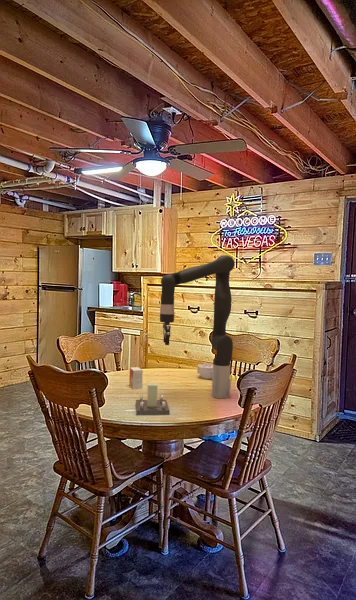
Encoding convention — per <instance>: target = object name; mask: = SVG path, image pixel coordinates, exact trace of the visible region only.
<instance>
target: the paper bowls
mask: <svg viewBox="0 0 356 600" xmlns="http://www.w3.org/2000/svg"><path fill="white" fill-rule="evenodd" d="M196 370H197V371H196V372H197V374H199V376H200V377H201V378H203V379H204V380H205V379H206V380H212V379H213V363H199V364H198V365H197V369H196Z"/></svg>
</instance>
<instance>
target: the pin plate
mask: <svg viewBox="0 0 356 600" xmlns="http://www.w3.org/2000/svg"><path fill="white" fill-rule="evenodd" d="M159 396H160V397H159V399H157V407H147V399H144V395H143V394H142V395H141V394H140V395H139V399H135V411H136V412H135V413H136V416H161V415H162V416H165V415H166V416H170V407H169V404H168V401H167V399H164V394H162V395H159Z"/></svg>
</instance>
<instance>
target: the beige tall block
mask: <svg viewBox="0 0 356 600" xmlns="http://www.w3.org/2000/svg"><path fill="white" fill-rule="evenodd" d="M146 393H147V397H146V400H147V407H157V400H158V382H147V392H146Z"/></svg>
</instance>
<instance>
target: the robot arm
mask: <svg viewBox="0 0 356 600" xmlns="http://www.w3.org/2000/svg"><path fill="white" fill-rule="evenodd" d="M235 264H236V263H235V260H234V258H233V257H232V256H230V255H227V254H224V255H223V254H222V255H221V256H218V257H217V258H216V259H215V260H213V261H210V262H208V263H205V264H201V265H195V266H191V267H188V268H185V269H182V270H180V271H176V272H172V273H169V274H165V275H163V276H162V277H161V279H160V284H161V295H160V307H159V322H160V323H162V324H163V325H162V334H163V343H164V345H165V346H169V345H170V338H171V332H172V331H171V330H172V326H171V325H170V324H171V323H174V322H175V292H176V291H175V289H176V286H179V285H182V284H187V283H191V282H193V281H196V280H199V279H202V278H205V277H208V276H211V275H215V285H214V287H215V288H214V299H213V300H214V301H213V326H212V334H211V347H212V348H213V350H215V351H216V354H215V355H216V356H215V357H214V358H213V359H212V364H213V379H211V380H212V382H211V384H212V385H211V396H212V397H213V398H216V399H227V398H231V384H232V382H231V380H232V379H231V362H232V358H233V350H234V349H233V347H234V343H233V339H232V338H231V337H230V336H229V335H226V331H227V329H226V328H227V327H226V326H227V322H228V321H229V317H230V315H231V312H232V291H231V287H230V274H231V272H232V270H234V268H235Z"/></svg>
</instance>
